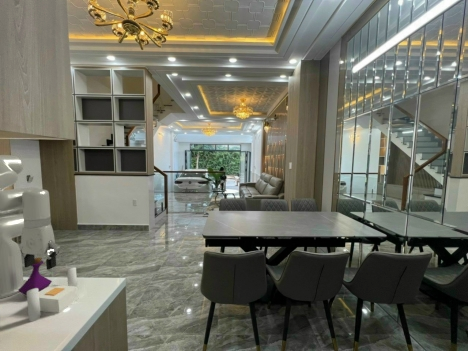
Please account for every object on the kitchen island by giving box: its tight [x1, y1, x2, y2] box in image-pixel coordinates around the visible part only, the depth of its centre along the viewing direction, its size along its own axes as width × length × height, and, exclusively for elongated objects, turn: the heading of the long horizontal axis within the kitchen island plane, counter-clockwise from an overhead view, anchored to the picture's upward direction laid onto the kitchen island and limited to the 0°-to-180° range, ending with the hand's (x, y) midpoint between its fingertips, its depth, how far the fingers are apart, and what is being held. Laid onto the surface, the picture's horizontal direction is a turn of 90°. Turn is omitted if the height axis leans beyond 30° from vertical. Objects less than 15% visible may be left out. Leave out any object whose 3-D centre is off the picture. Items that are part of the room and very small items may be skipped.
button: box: [45, 288, 64, 296], centre depth 83 cm, size 4×4×4 cm
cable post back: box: [66, 266, 78, 287], centre depth 90 cm, size 3×3×10 cm
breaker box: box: [39, 284, 79, 314], centre depth 83 cm, size 12×8×5 cm, turn 81°
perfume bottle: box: [18, 255, 53, 297], centre depth 90 cm, size 8×8×18 cm
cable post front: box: [26, 288, 42, 322], centre depth 75 cm, size 3×3×10 cm
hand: (40, 266), depth 83 cm, fingers open, 9 cm apart
